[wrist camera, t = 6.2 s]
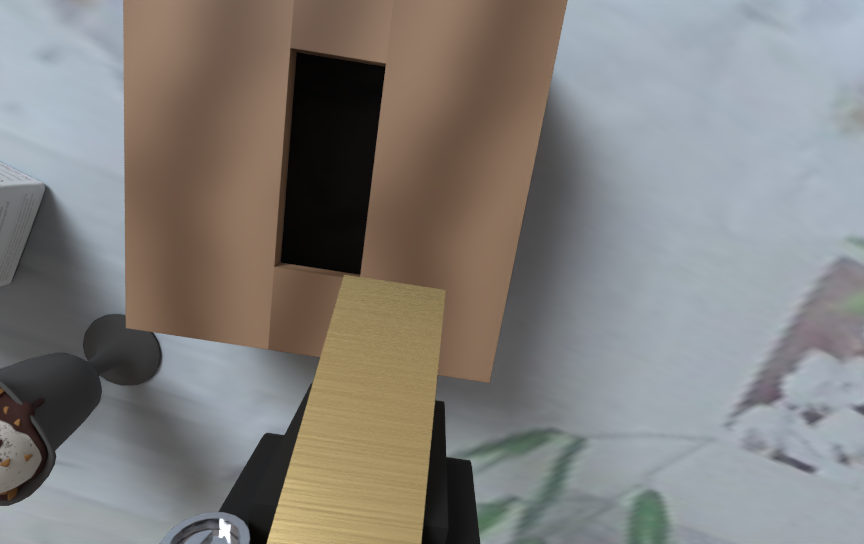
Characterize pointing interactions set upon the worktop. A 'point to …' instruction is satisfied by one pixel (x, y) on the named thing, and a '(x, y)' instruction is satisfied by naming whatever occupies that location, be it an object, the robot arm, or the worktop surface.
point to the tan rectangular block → (366, 421)
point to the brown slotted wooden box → (269, 151)
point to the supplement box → (16, 217)
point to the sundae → (63, 399)
